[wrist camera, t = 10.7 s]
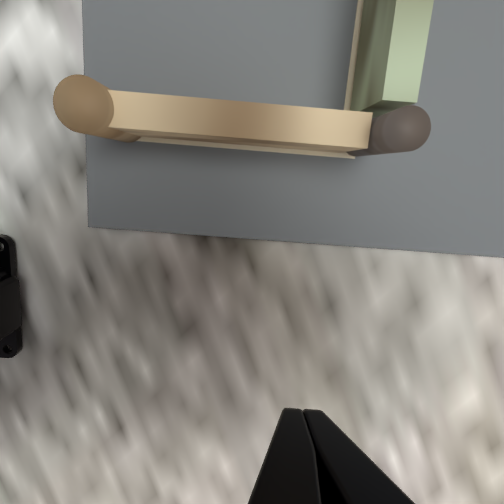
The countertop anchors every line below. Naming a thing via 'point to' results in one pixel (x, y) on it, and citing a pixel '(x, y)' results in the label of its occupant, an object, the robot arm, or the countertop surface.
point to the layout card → (306, 95)
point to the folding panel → (390, 54)
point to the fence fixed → (235, 121)
